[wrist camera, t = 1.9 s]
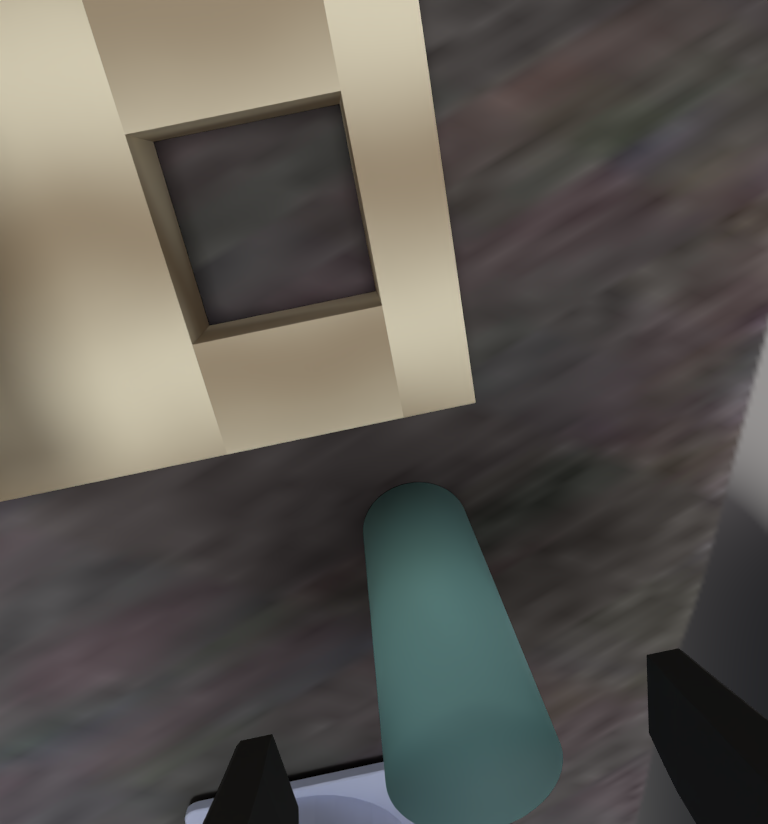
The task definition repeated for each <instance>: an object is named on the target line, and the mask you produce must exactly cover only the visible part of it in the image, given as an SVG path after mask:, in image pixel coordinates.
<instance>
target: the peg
mask: <svg viewBox="0 0 768 824" xmlns="http://www.w3.org/2000/svg"><path fill="white" fill-rule="evenodd" d="M363 538H364V549H365V560H366V571H367V582H368V593H369V604H370V616H371V627H372V638H373V649H374V660H375V671H376V683H377V694H378V705H379V716H380V727H381V738H382V749H383V761H384V772H385V783H386V789H387V793H388V795H389V798H390V800H391V802H392V804H393V805H394V807H395V808H396V809H397V810H398V811H399V812H400V813H401V814H402V815H403V816H404V817H405V818H407V819H408V820H410V821H411V822H413V823H414V824H510V823H512V822H514V821H516V820H518V819H520V818H522V817H523V816H525V815H527V814H528V813H530V812H531V811H532V810H534V809H535V808H536V807H537V806H539V805H540V804H541V803H542V802H543V801H544V800H545V799H546V798H547V796H548V795H549V794H550V793H551V791H552V790H553V788H554V787H555V785H556V783H557V781H558V779H559V776H560V773H561V770H562V764H563V753H562V748H561V744H560V742H559V739H558V737H557V735H556V732H555V730H554V727H553V725H552V722H551V720H550V717H549V715H548V713H547V710H546V708H545V705H544V703H543V700H542V698H541V695H540V693H539V691H538V688H537V686H536V683H535V681H534V678H533V676H532V674H531V671H530V669H529V666H528V664H527V661H526V659H525V656H524V654H523V652H522V649H521V647H520V644H519V642H518V639H517V637H516V634H515V632H514V630H513V627H512V625H511V622H510V620H509V617H508V615H507V612H506V610H505V608H504V605H503V603H502V600H501V598H500V595H499V593H498V590H497V588H496V586H495V583H494V581H493V578H492V576H491V573H490V571H489V569H488V566H487V564H486V561H485V559H484V556H483V554H482V551H481V549H480V547H479V544H478V542H477V539H476V537H475V534H474V532H473V529H472V527H471V525H470V522H469V520H468V517H467V515H466V512H465V510H464V507H463V506H462V504H461V502H460V501H459V500H458V499H457V497H456V496H454V495H453V494H452V493H451V492H449V491H448V490H447V489H445V488H443V487H440V486H438V485H435V484H430V483H423V482H415V483H407V484H403V485H400V486H397V487H395V488H392V489H390V490H389V491H387V492H385V493H384V494H383V495H381V496H380V497H379V498H378V499H377V500H376V501H375V502H374V503H373V504H372V506H371V507H370V509H369V510H368V513H367V515H366V517H365V521H364V526H363Z"/></svg>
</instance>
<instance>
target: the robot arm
mask: <svg viewBox="0 0 768 824" xmlns="http://www.w3.org/2000/svg"><path fill="white" fill-rule="evenodd" d="M647 682H648V716H649V734H650V736H651V738H652V740H653V742H654V744H655V747H656V749H657V751H658V753H659V755H660V757H661V759H662V762H663V764H664V766H665V768H666V770H667V772H668V774H669V776H670V778H671V780H672V782H673V784H674V786H675V788H676V790H677V792H678V794H679V796H680V797H681V799H682V800H683V802H684V804H685V806H686V807H687V809H688V810H689V812H690V814H691V816H692V817H693V819H694V821H695V822H696V824H768V719H767V718H765V717H764V716H763V715H762V714H760V713H759V712H758V711H756V710H755V709H754V708H752V707H751V706H750V705H749V704H747V703H746V702H745V701H744V700H742V699H741V698H740V697H738V696H737V695H736V694H735V693H733V692H732V691H731V690H730V689H728V688H727V687H726V686H725V685H723V684H722V683H721V682H720V681H719V680H717V679H716V678H715V677H714V676H712V675H711V674H710V673H709V672H708V671H706V670H705V669H704V668H703V667H701V666H700V665H699V664H698V663H697V662H695V661H694V660H693V659H692V658H690V657H689V656H688V655H687V654H685V653H684V652H683V651H681V650H680V649H673V650H669V651H664V652H659V653H655V654H650V655H647ZM185 823H186V824H414V823H413V822H411V821H410V820H408V819H407V818H405V817H404V816H403V815H402V814H401V813H400V812H399V811H398V810H397V809H396V808H395V807H394V805H393V804H392V802H391V800H390V798H389V795H388V793H387V789H386V783H385V772H384V762H380V763H375V764H370V765H366V766H361V767H356V768H352V769H347V770H342V771H338V772H333V773H328V774H323V775H319V776H314V777H309V778H305V779H300V780H295V781H291V782H289V779H288V776H287V774H286V771H285V768H284V765H283V762H282V760H281V757H280V754H279V751H278V749H277V746H276V743H275V740H274V738H273V735H272V734H271V735H266V736H261V737H257V738H252V739H247V740H242V741H240V742H239V744H238V745H237V746H236V749H235V751H234V753H233V756H232V758H231V761H230V763H229V765H228V768H227V770H226V772H225V775H224V777H223V779H222V782H221V784H220V786H219V788H218V791H217V793H216V795H215V797H214V798H211V799H206V800H202V801H197V802H195V803H192V804H191V805H190V806H188V809H187V811H186V816H185Z"/></svg>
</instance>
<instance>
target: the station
mask: <svg viewBox="0 0 768 824" xmlns="http://www.w3.org/2000/svg"><path fill="white" fill-rule="evenodd" d="M337 104H340V108H341V114H342V119H343V124H344V129H345V134H346V139H347V144H348V150H349V155H350V160H351V165H352V170H353V175H354V180H355V186H356V191H357V196H358V201H359V206H360V211H361V216H362V222H363V227H364V232H365V237H366V242H367V247H368V252H369V258H370V263H371V268H372V273H373V278H374V283H375V288H376V291H375V292H370V293H365V294H360V295H355V296H351V297H346V298H341V299H336V300H331V301H326V302H322V303H317V304H312V305H307V306H302V307H297V308H293V309H288V310H283V311H278V312H273V313H268V314H263V315H259V316H254V317H249V318H244V319H239V320H234V321H230V322H225V323H220V324H215V325H210V326H209V323H208V320H207V316H206V313H205V310H204V307H203V303H202V300H201V297H200V293H199V290H198V287H197V284H196V280H195V277H194V274H193V271H192V267H191V264H190V261H189V257H188V254H187V251H186V248H185V244H184V241H183V238H182V235H181V231H180V228H179V225H178V221H177V218H176V215H175V212H174V208H173V205H172V202H171V199H170V195H169V192H168V189H167V185H166V182H165V179H164V176H163V172H162V169H161V166H160V162H159V159H158V156H157V153H156V149H155V146H154V143H153V142H155V141H160V140H165V139H170V138H175V137H180V136H185V135H190V134H194V133H199V132H204V131H209V130H214V129H219V128H224V127H229V126H234V125H239V124H244V123H248V122H253V121H258V120H263V119H268V118H273V117H278V116H283V115H288V114H293V113H297V112H302V111H307V110H312V109H317V108H322V107H327V106H332V105H337ZM471 403H476V402H475V395H474V388H473V381H472V374H471V367H470V360H469V353H468V346H467V339H466V331H465V324H464V317H463V310H462V303H461V296H460V289H459V282H458V275H457V268H456V261H455V254H454V247H453V240H452V233H451V226H450V219H449V212H448V205H447V198H446V191H445V184H444V177H443V170H442V163H441V155H440V148H439V141H438V134H437V127H436V120H435V113H434V106H433V99H432V92H431V85H430V78H429V71H428V64H427V57H426V50H425V43H424V36H423V29H422V22H421V15H420V8H419V1H418V0H0V502H1V501H6V500H11V499H16V498H20V497H25V496H30V495H35V494H40V493H44V492H49V491H54V490H59V489H64V488H68V487H73V486H78V485H83V484H88V483H92V482H97V481H102V480H107V479H112V478H116V477H121V476H126V475H131V474H135V473H140V472H145V471H150V470H155V469H159V468H164V467H169V466H174V465H179V464H183V463H188V462H193V461H198V460H203V459H207V458H212V457H217V456H222V455H227V454H231V453H236V452H241V451H246V450H251V449H255V448H260V447H265V446H270V445H275V444H279V443H284V442H289V441H294V440H299V439H303V438H308V437H313V436H318V435H322V434H327V433H332V432H337V431H342V430H346V429H351V428H356V427H361V426H366V425H370V424H375V423H380V422H385V421H390V420H394V419H399V418H404V417H409V416H414V415H418V414H423V413H428V412H433V411H438V410H442V409H447V408H452V407H457V406H462V405H466V404H471Z"/></svg>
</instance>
